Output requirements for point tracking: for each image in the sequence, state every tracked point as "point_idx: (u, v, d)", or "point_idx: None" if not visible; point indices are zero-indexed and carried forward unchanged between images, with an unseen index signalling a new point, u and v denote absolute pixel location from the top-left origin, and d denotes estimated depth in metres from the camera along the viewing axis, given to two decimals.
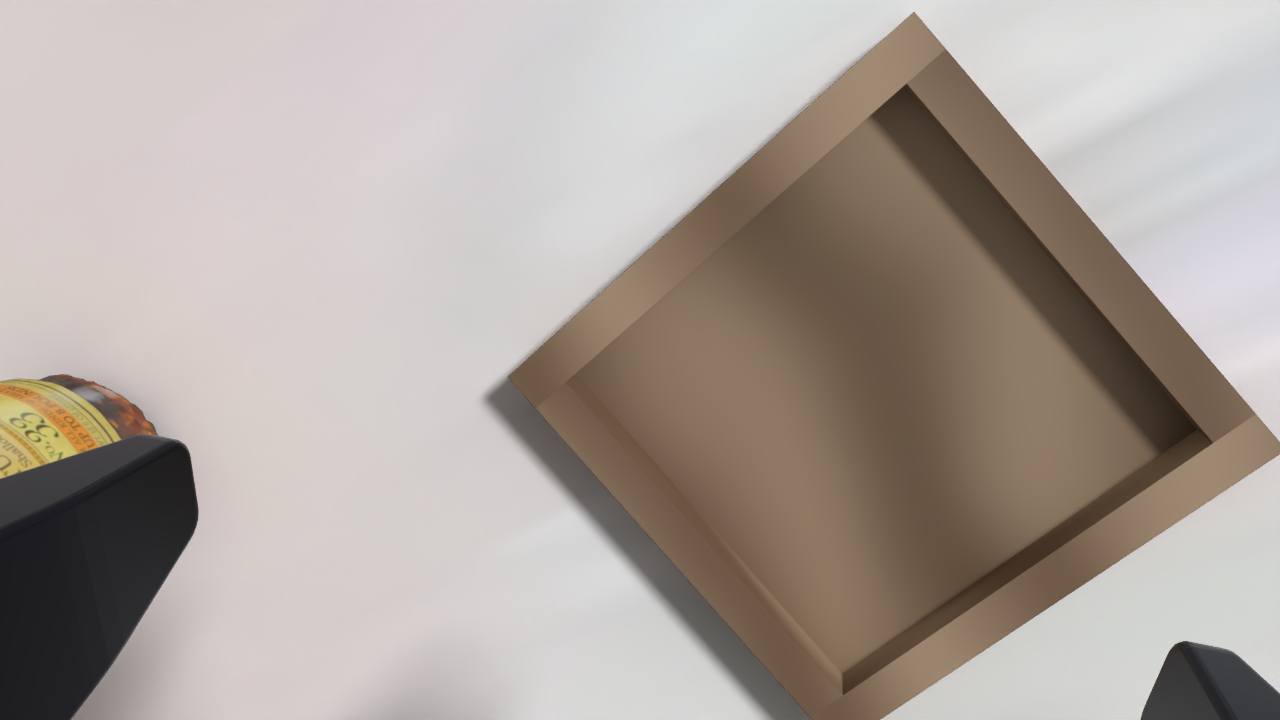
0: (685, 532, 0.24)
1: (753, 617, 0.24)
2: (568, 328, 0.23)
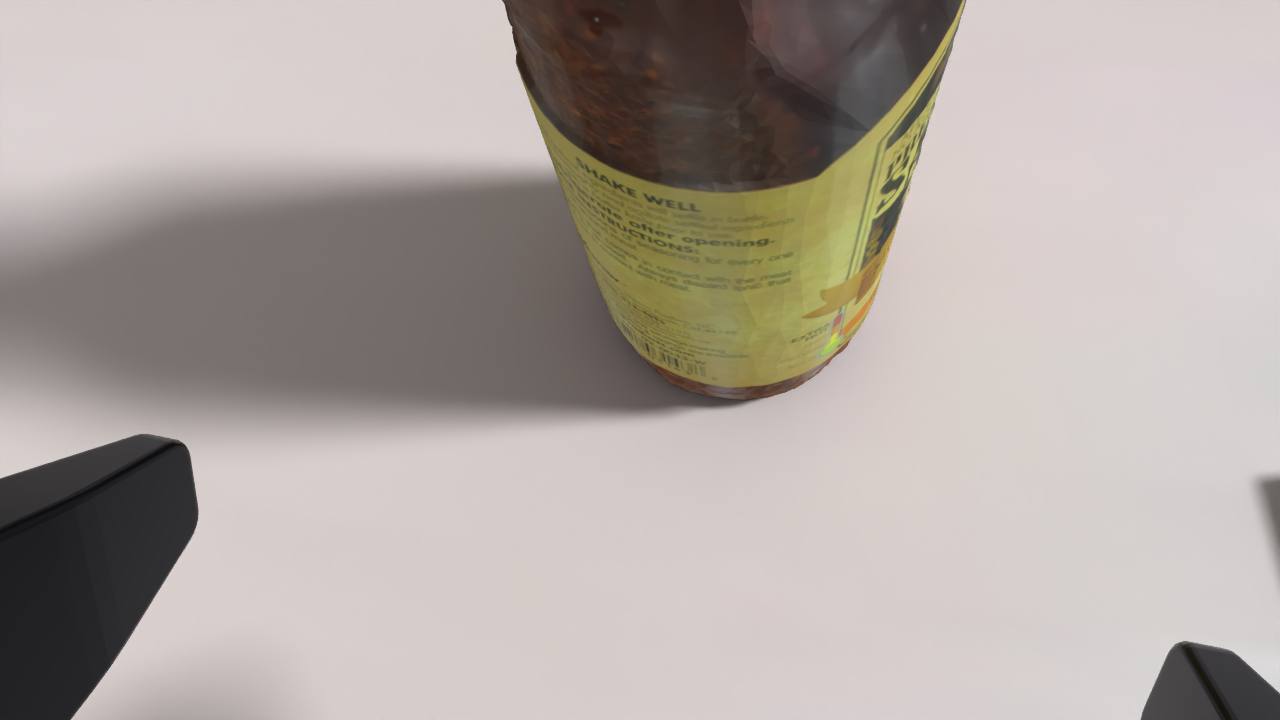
0: None
1: None
2: None
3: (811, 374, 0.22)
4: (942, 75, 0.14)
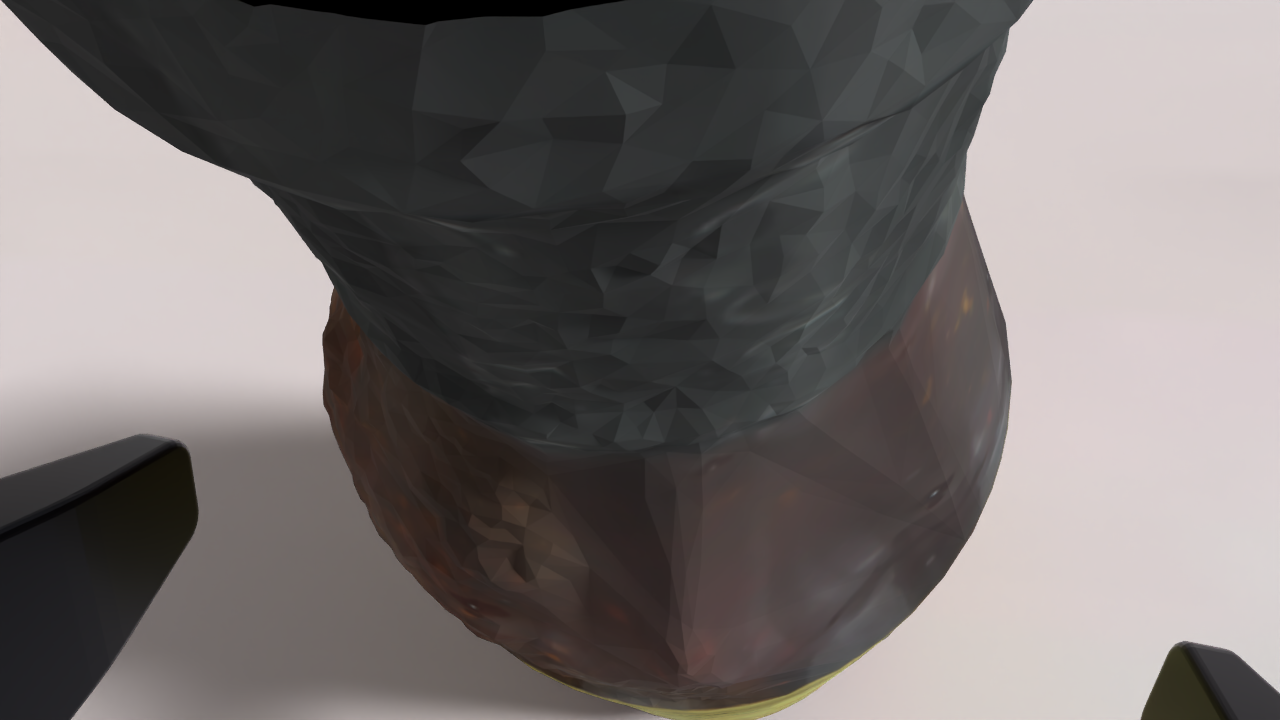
0: None
1: None
2: None
3: None
4: None
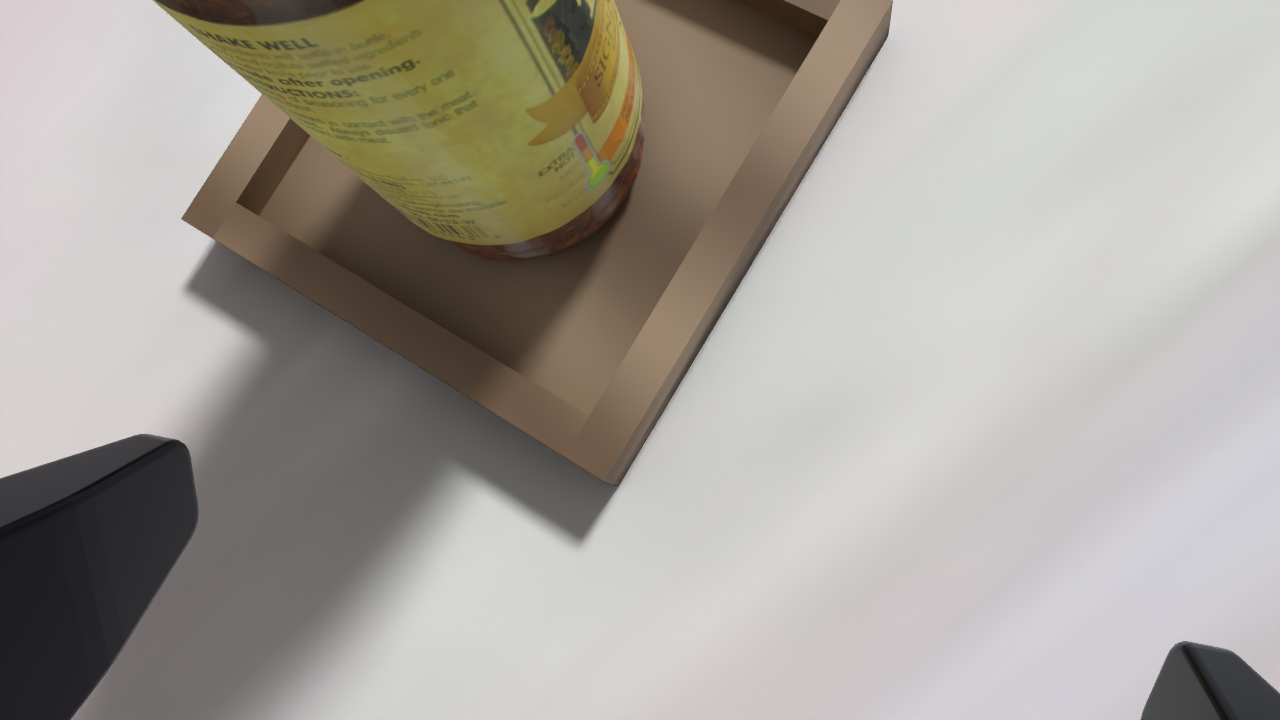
0: (381, 303, 0.22)
1: (472, 366, 0.22)
2: (229, 151, 0.24)
3: (606, 212, 0.22)
4: None
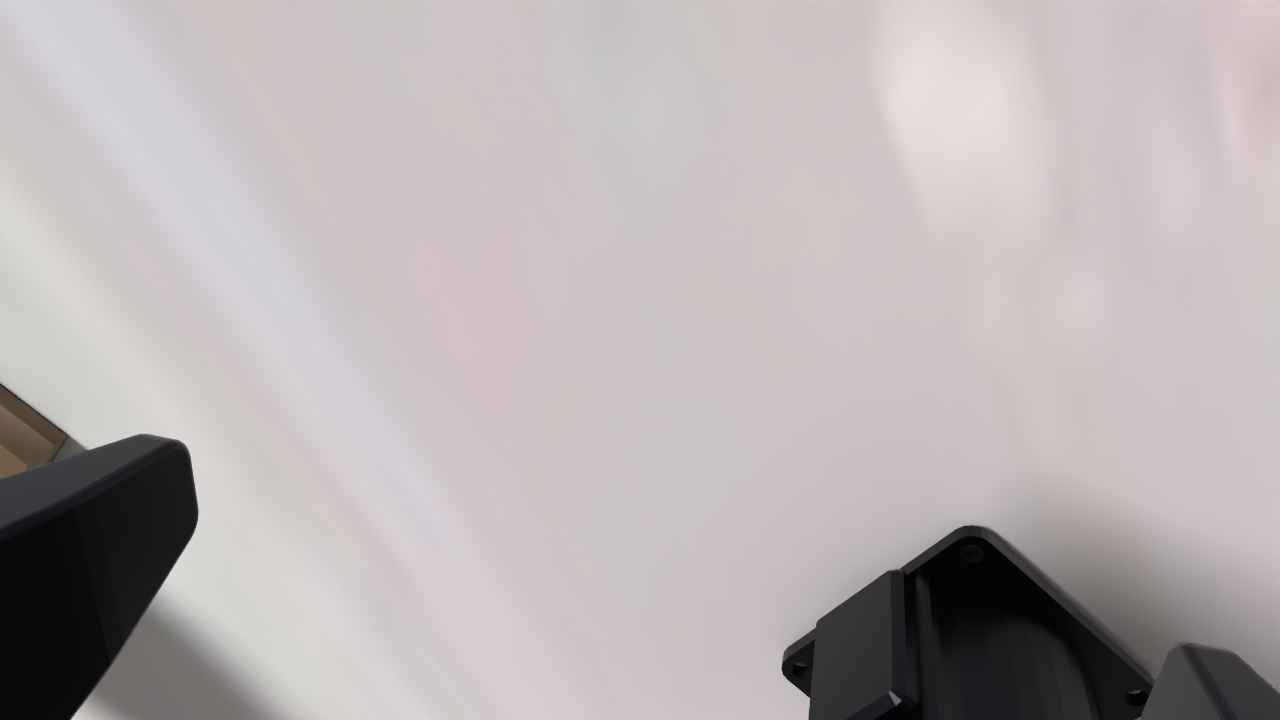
0: None
1: None
2: None
3: None
4: None
